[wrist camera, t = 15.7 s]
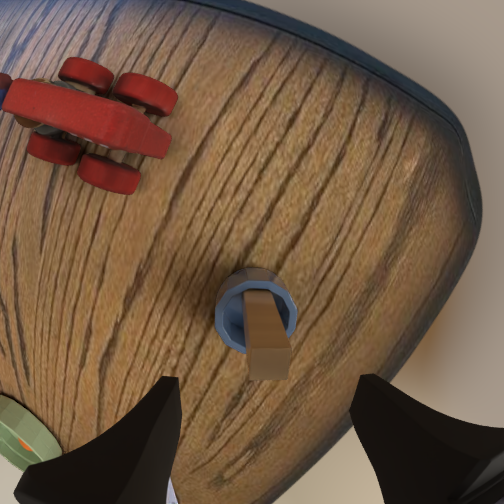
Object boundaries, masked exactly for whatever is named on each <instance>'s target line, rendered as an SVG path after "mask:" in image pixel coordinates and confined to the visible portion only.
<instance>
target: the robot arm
mask: <svg viewBox="0 0 504 504" xmlns="http://www.w3.org/2000/svg"><path fill="white" fill-rule="evenodd" d="M349 412H350V415H351V419H352V422H353V425H354V428H355V431H356V433H357V435H358V437H359V440H360V442H361V444H362V446H363V448H364V450H365V452H366V453H367V456H368V458H369V460H370V462H371V464H372V466H373V468H374V471H375V473H376V476H377V479H378V482H379V485H380V488H381V492H382V495H383V499H384V503H385V504H504V428H496V427H488V426H482V425H477V424H472V423H468V422H465V421H462V420H458V419H455V418H452V417H450V416H447V415H445V414H443V413H440V412H438V411H436V410H433V409H431V408H430V407H428V406H426V405H424V404H422V403H420V402H419V401H417V400H415V399H413V398H412V397H410V396H408V395H407V394H405V393H404V392H402V391H401V390H399V389H397V388H396V387H394V386H393V385H391V384H390V383H388V382H387V381H385V380H384V379H382V378H380V377H379V376H377V375H375V374H365V375H360V379H359V382H358V385H357V389H356V392H355V395H354V398H353V401H352V404H351V407H350V410H349ZM181 420H182V409H181V400H180V390H179V380H178V377H169V376H162V377H161V378H160V379H159V380H158V381H157V382H156V384H155V385H154V386H153V387H152V388H151V389H150V391H149V392H148V393H147V394H146V395H145V396H144V397H143V398H142V399H141V400H140V401H139V403H138V404H137V405H136V406H135V407H134V408H133V409H132V410H131V411H129V412H128V413H127V414H126V415H125V416H124V417H123V418H122V419H121V420H120V421H118V422H117V423H116V424H115V425H113V426H112V427H111V428H110V429H108V430H107V431H105V432H104V433H103V434H101V435H100V436H98V437H97V438H95V439H93V440H92V441H90V442H88V443H87V444H85V445H83V446H81V447H79V448H77V449H75V450H73V451H71V452H69V453H66V454H64V455H61V456H59V457H56V458H53V459H50V460H47V461H43V462H40V463H36V464H32V465H28V467H27V468H26V470H25V471H24V473H23V475H22V477H21V479H20V481H19V482H18V485H17V487H16V488H15V490H14V496H15V498H16V500H17V501H18V502H19V503H20V504H178V502H177V499H176V496H175V492H174V489H173V485H172V482H171V478H170V474H171V470H172V466H173V462H174V457H175V453H176V449H177V445H178V441H179V437H180V429H181Z"/></svg>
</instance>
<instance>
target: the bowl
mask: <svg viewBox="0 0 504 504" xmlns="http://www.w3.org/2000/svg"><path fill="white" fill-rule="evenodd" d="M18 437H19V438H20V439H21V440H22V441H23V442H24V443H25V444H26V445H28V446H29V447H30V448H31V450H32V451H28V450H26V449H25V448H24V447H23V446H22V445H21V444H20V442H19V440H18ZM0 454H1V455H2V456H3V457H4V458H5V459H6V460H8V462H10V463H11V464H12V465H14V466H15V467H16V468H18V469H19V470H21V471H22V472H24V471H25V470H26V468H27V467H28V465H32V464H36V463H40V462H43V461H47V460H50V459H53V458H56V457H59V456H61V455H62V450H61V448H60V446H59V444H58V442H57V440H56V439H55V438H54V436H53V435H52V434H51V433H50V432H49V431H48V429H47V428H46V427H45V426H44V425H43V424H42V423H41V422H40V421H39V420H38V419H37V418H36V417H35V416H34V415H33V414H31V413H30V412H29V411H28V410H27V409H25V408H24V407H22V406H21V405H20V404H18V403H17V402H15V401H14V400H12V399H10V398H8V397H5V396H3V395H1V394H0Z"/></svg>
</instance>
